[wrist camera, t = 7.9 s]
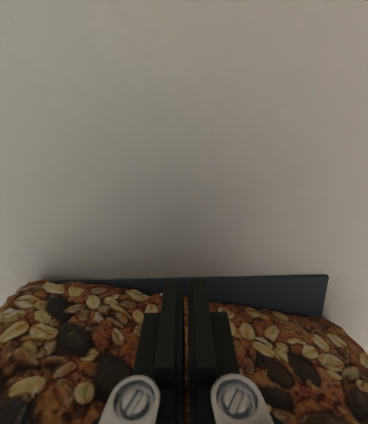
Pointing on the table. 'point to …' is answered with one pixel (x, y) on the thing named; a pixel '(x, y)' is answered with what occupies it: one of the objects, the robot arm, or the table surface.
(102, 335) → the bread
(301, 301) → the corner pad
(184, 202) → the table surface
